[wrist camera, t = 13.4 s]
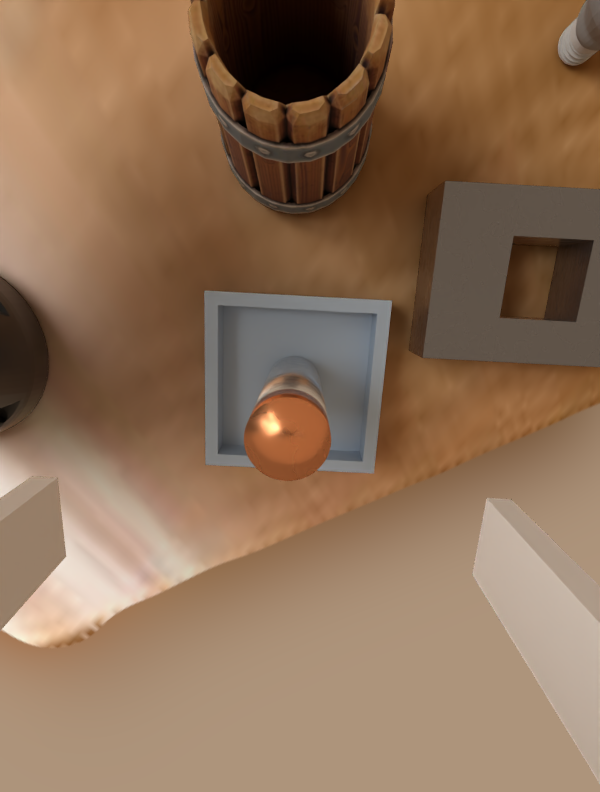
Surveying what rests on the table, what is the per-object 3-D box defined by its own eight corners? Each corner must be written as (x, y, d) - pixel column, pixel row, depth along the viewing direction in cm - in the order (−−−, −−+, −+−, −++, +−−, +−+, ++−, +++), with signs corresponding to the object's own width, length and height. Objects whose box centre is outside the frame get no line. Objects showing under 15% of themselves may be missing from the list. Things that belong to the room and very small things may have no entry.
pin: (268, 354, 33) (244, 395, 20) (321, 357, 33) (334, 400, 20) (266, 405, 34) (243, 478, 21) (318, 408, 34) (328, 482, 21)
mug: (395, 148, 30) (482, 12, 16) (290, 246, 32) (280, 207, 17) (254, -46, 27) (199, -432, 13) (147, 74, 29) (-8, -144, 15)
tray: (213, 451, 36) (205, 464, 33) (213, 290, 33) (204, 290, 30) (368, 459, 36) (373, 473, 33) (384, 300, 33) (392, 300, 30)
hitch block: (408, 350, 34) (422, 357, 30) (427, 195, 31) (445, 180, 27) (597, 360, 34) (635, 369, 30) (634, 206, 31) (681, 193, 27)
